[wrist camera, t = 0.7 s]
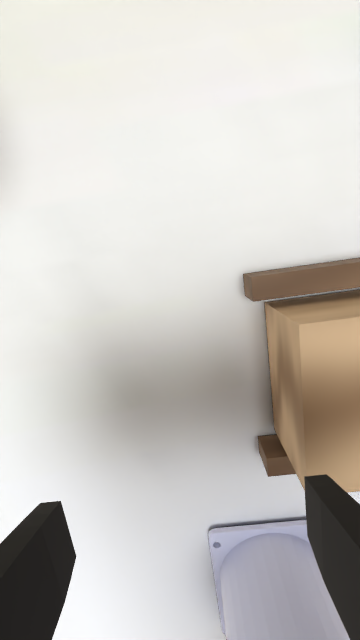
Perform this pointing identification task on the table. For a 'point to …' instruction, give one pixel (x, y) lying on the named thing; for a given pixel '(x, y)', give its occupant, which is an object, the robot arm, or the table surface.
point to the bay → (287, 285)
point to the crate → (317, 383)
